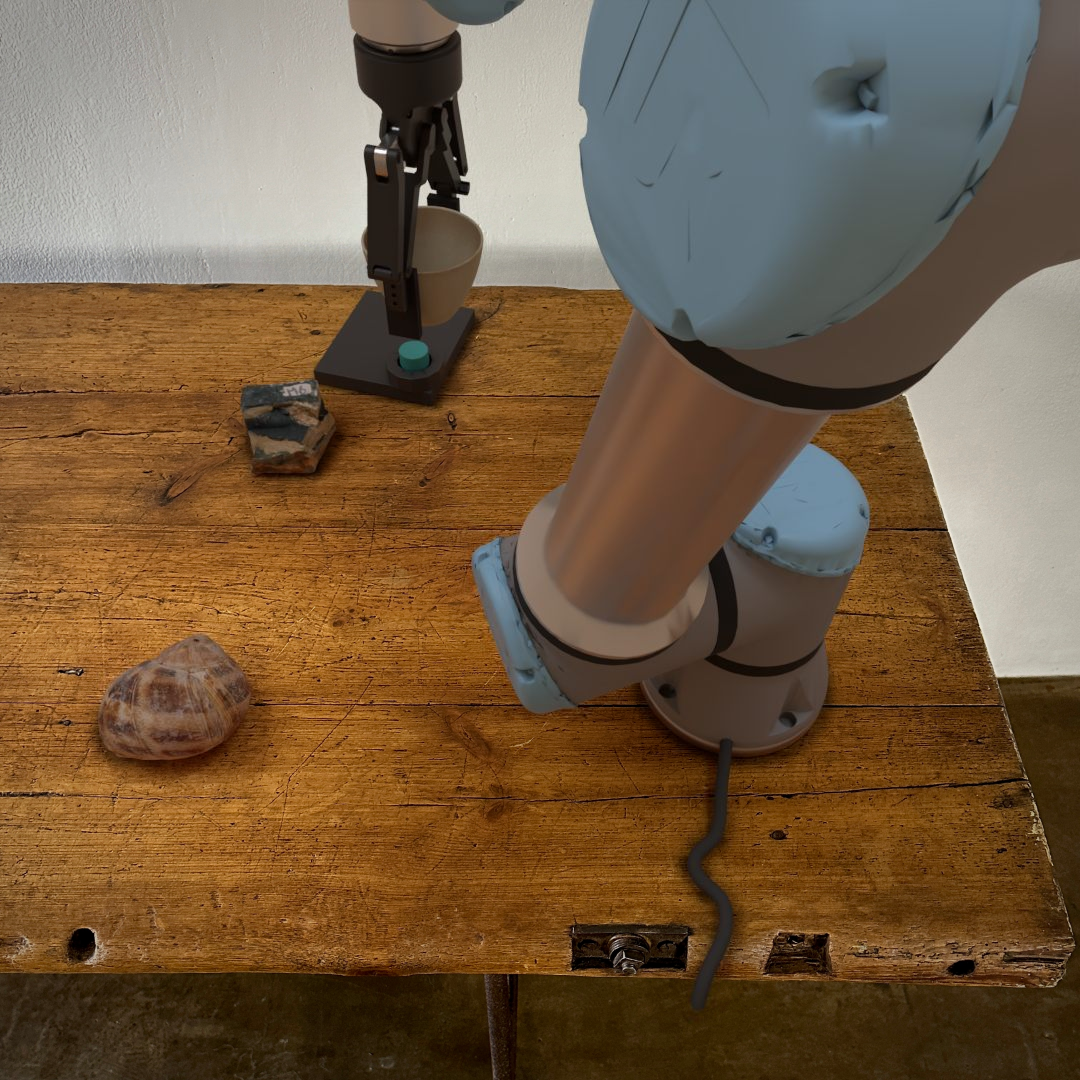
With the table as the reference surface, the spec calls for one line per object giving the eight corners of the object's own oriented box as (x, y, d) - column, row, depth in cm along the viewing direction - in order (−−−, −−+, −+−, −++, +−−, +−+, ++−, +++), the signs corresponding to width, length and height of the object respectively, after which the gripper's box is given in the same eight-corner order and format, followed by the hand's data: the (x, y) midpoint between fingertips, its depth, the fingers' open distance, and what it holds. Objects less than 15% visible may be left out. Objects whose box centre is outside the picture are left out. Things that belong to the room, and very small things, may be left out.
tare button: (423, 374, 99) (422, 361, 98) (396, 369, 100) (394, 355, 99) (433, 356, 101) (432, 343, 100) (406, 351, 102) (404, 338, 100)
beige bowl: (469, 353, 82) (466, 281, 76) (355, 335, 83) (344, 263, 77) (496, 283, 88) (495, 212, 82) (390, 268, 89) (382, 197, 83)
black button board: (434, 409, 101) (432, 383, 98) (313, 385, 103) (308, 359, 100) (479, 322, 110) (478, 296, 108) (368, 301, 112) (364, 276, 110)
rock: (251, 482, 93) (238, 439, 89) (250, 417, 99) (238, 374, 95) (341, 472, 94) (333, 428, 90) (336, 408, 100) (328, 364, 96)
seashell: (186, 631, 81) (201, 601, 72) (258, 713, 81) (282, 692, 73) (74, 716, 75) (77, 694, 67) (153, 802, 76) (165, 792, 67)
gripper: (400, 113, 60) (424, 388, 77) (504, -24, 74) (505, 234, 91) (287, 95, 61) (336, 370, 78) (411, -37, 75) (429, 221, 92)
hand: (427, 297), depth 84 cm, fingers closed on beige bowl, 10 cm apart
